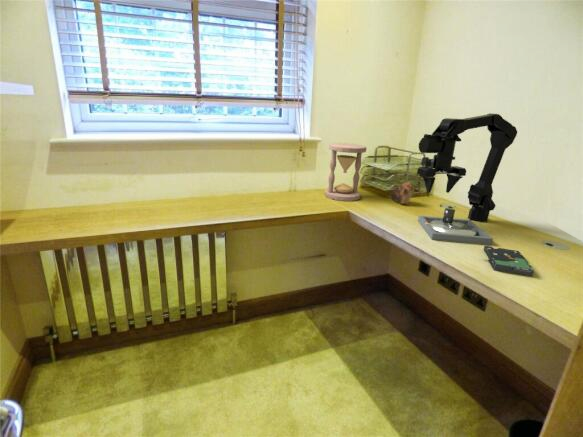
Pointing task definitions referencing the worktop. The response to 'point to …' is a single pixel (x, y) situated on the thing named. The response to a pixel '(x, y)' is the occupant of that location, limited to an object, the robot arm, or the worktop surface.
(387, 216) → the worktop surface
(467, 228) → the dial
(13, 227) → the worktop surface
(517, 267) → the disk drive
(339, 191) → the hourglass
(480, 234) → the dial housing
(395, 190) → the decorative rock
